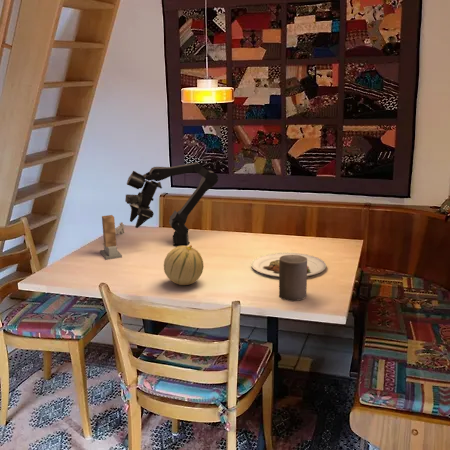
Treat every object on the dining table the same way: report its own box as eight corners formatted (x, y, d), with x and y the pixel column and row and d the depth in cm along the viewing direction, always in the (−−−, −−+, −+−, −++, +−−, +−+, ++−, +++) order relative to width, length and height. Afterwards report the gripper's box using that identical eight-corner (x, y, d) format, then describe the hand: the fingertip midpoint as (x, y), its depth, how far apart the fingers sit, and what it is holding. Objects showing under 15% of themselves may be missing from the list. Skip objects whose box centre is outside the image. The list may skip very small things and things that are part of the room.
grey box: (100, 252, 244) (99, 242, 243) (115, 250, 247) (114, 240, 246) (106, 259, 234) (105, 249, 233) (122, 257, 237) (121, 247, 235)
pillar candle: (275, 299, 187) (275, 257, 184) (283, 289, 196) (283, 249, 193) (303, 302, 184) (304, 260, 180) (309, 292, 193) (310, 252, 189)
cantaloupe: (160, 280, 208) (158, 242, 204) (196, 274, 213) (195, 238, 209) (171, 293, 194) (169, 253, 191) (209, 287, 200) (208, 248, 196)
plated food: (267, 253, 239) (267, 246, 238) (334, 262, 226) (334, 254, 225) (239, 274, 213) (239, 266, 212) (313, 285, 200) (313, 277, 199)
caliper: (122, 233, 276) (121, 221, 274) (124, 233, 276) (123, 221, 274) (102, 245, 257) (101, 232, 255) (104, 245, 256) (103, 232, 255)
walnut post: (113, 243, 242) (111, 214, 239) (116, 245, 238) (114, 217, 235) (104, 244, 240) (101, 216, 237) (106, 247, 236) (104, 218, 233)
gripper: (126, 182, 248) (112, 212, 249) (137, 192, 232) (123, 225, 233) (147, 190, 253) (133, 220, 255) (160, 201, 237) (145, 233, 239)
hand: (133, 224), depth 246 cm, fingers open, 9 cm apart
